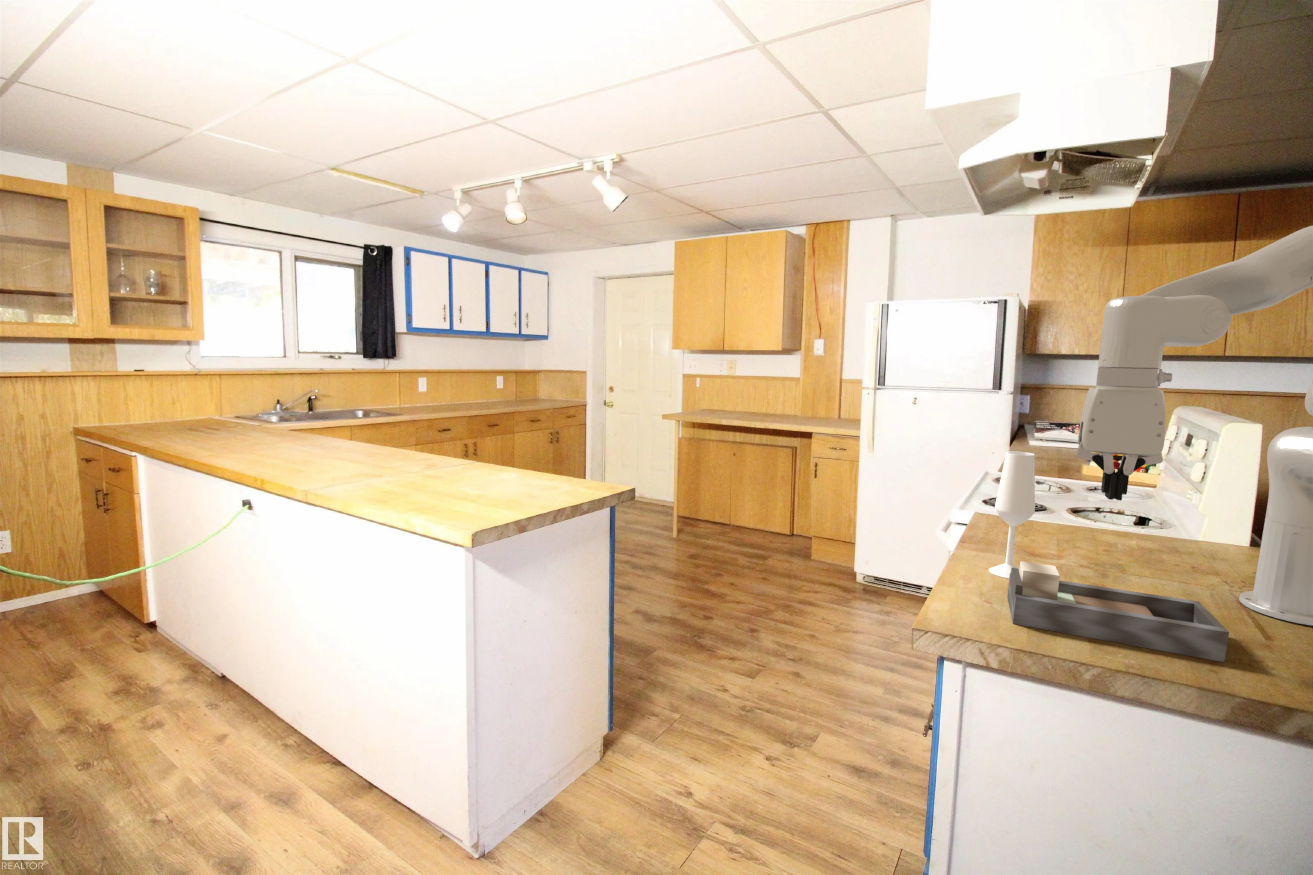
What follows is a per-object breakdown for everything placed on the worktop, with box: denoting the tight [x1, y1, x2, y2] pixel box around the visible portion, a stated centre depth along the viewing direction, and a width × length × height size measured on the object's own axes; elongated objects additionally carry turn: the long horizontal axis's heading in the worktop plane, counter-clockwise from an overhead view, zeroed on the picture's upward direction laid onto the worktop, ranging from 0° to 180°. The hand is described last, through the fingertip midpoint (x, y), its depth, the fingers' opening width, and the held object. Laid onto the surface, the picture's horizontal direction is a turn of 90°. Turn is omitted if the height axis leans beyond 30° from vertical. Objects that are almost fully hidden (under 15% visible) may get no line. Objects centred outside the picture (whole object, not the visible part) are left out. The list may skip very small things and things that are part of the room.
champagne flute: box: [988, 450, 1036, 579], centre depth 118 cm, size 7×7×24 cm
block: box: [1018, 560, 1061, 600], centre depth 100 cm, size 5×5×5 cm
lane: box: [1007, 567, 1230, 663], centre depth 97 cm, size 26×12×6 cm, turn 64°
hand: (1113, 497), depth 95 cm, fingers closed
